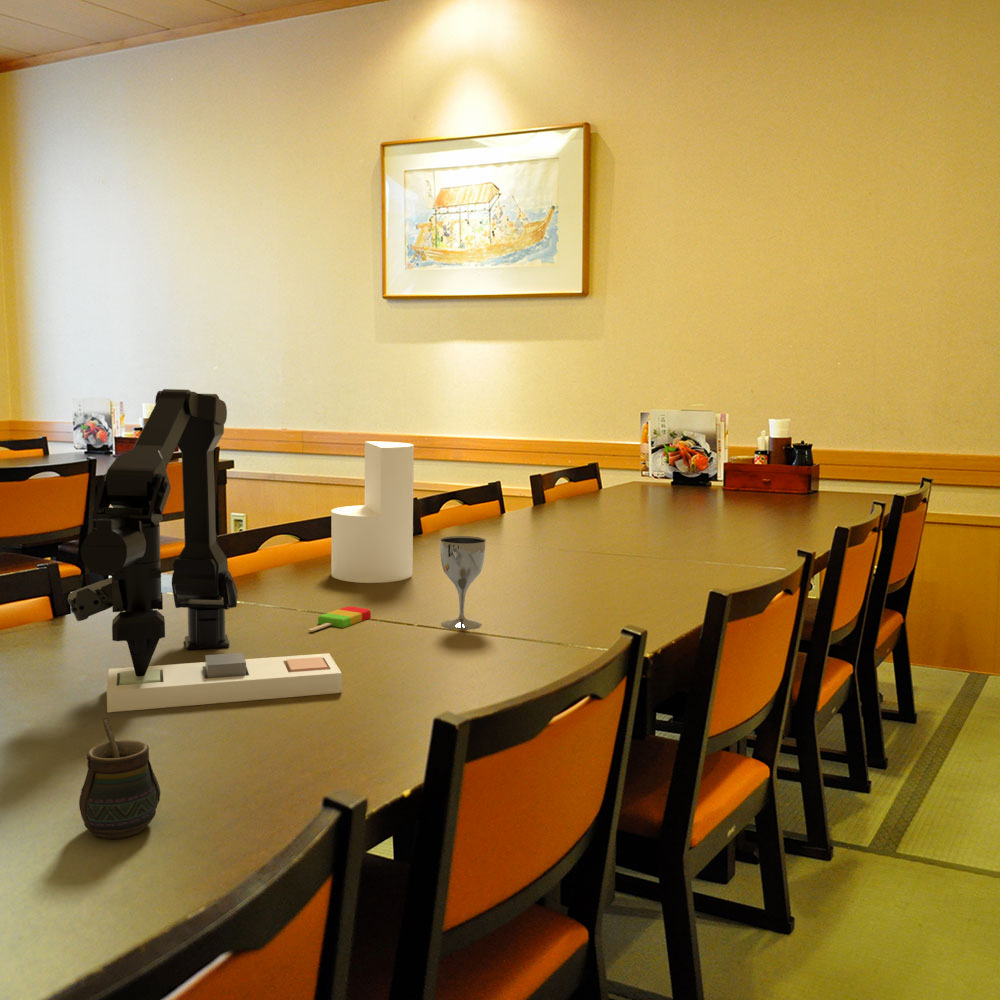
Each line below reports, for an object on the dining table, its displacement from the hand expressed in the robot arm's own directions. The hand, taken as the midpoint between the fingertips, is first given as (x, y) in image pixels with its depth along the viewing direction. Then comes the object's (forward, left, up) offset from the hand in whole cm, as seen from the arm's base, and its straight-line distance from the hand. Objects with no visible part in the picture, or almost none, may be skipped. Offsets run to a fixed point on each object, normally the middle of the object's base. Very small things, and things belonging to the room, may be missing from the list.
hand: (140, 675), depth 136 cm
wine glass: (-27, +53, -3) cm, 59 cm away
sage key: (0, 0, -2) cm, 2 cm away
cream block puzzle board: (0, +11, -3) cm, 11 cm away
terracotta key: (0, +22, -2) cm, 22 cm away
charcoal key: (0, +11, -1) cm, 11 cm away
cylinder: (-73, +47, -3) cm, 87 cm away
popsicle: (-33, +32, -4) cm, 46 cm away
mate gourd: (+40, -2, -3) cm, 40 cm away
